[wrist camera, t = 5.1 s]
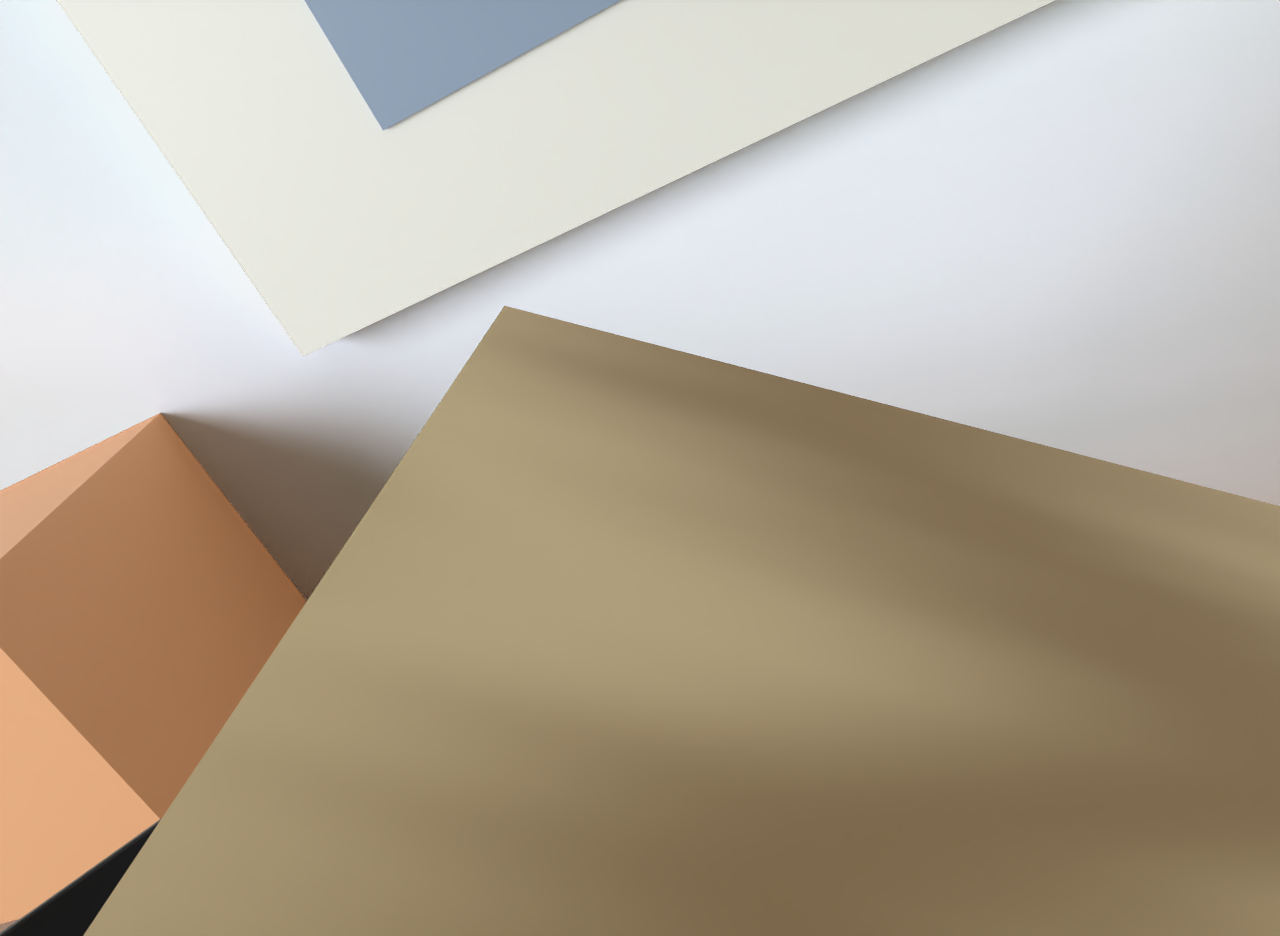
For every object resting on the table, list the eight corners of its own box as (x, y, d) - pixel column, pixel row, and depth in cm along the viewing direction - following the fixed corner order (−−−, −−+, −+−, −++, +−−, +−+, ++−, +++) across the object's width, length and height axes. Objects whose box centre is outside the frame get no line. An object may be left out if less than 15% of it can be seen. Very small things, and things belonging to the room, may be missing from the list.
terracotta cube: (340, 640, 24) (204, 866, 19) (139, 712, 27) (-30, 932, 22) (162, 410, 22) (-45, 599, 17) (-42, 510, 24) (-280, 704, 19)
